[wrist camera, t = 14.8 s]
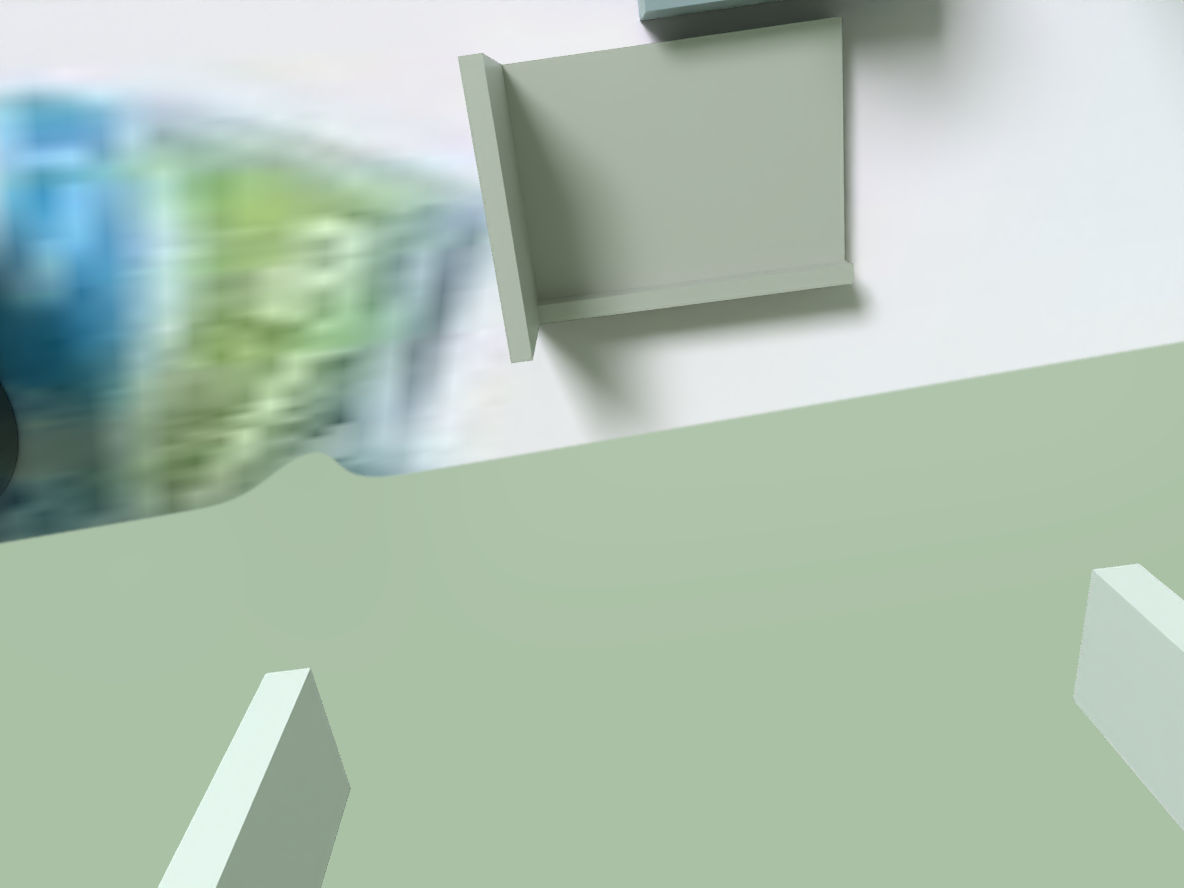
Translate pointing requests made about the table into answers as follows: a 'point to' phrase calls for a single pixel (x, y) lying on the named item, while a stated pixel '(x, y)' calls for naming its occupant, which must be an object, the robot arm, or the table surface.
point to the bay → (661, 173)
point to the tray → (687, 6)
